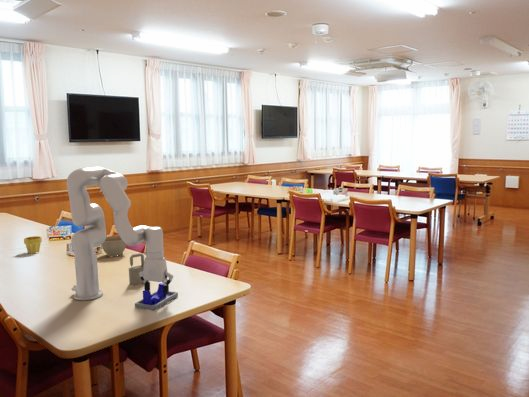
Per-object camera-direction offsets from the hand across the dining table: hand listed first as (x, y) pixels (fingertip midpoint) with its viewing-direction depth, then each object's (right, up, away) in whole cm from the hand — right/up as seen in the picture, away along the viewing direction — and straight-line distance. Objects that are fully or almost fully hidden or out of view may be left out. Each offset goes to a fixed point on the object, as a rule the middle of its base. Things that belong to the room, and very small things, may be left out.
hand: (156, 292), depth 200 cm
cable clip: (0, -4, +1) cm, 4 cm away
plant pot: (-103, +6, +94) cm, 140 cm away
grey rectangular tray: (0, -4, +1) cm, 4 cm away
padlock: (-16, -1, +28) cm, 32 cm away
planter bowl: (-47, +6, +84) cm, 97 cm away
